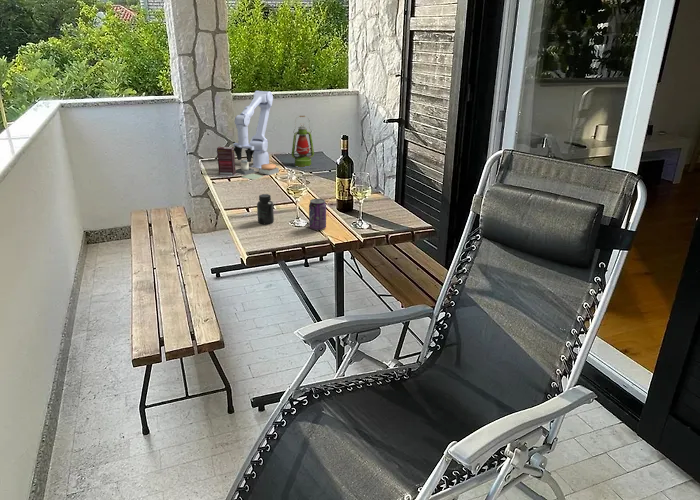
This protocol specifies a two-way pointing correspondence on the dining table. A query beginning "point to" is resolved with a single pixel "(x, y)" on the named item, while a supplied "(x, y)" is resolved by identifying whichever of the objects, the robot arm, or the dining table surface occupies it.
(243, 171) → the dock
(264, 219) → the supplement bottle
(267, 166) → the tan rounded dome
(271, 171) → the button housing
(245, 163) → the cylinder
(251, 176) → the mat
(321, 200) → the beverage can
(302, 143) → the lantern
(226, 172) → the supplement box
